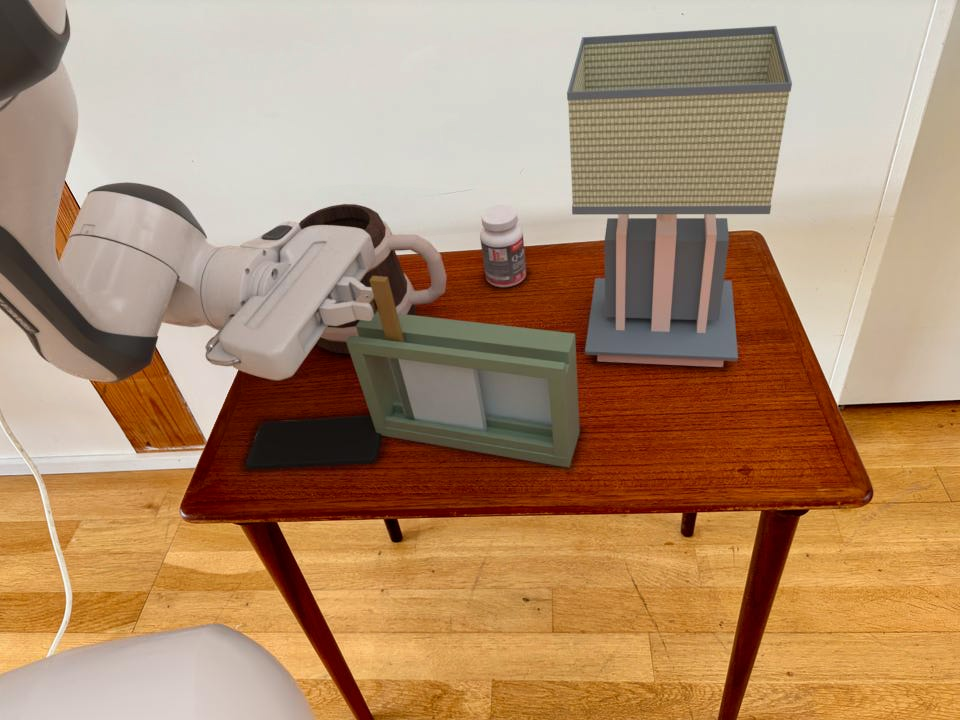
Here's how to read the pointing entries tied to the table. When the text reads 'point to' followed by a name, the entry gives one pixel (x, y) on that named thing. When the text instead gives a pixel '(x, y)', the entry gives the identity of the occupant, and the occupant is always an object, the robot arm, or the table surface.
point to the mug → (380, 265)
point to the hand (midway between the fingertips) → (377, 304)
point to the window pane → (429, 377)
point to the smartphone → (314, 443)
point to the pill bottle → (502, 246)
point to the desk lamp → (673, 180)
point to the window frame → (503, 382)
